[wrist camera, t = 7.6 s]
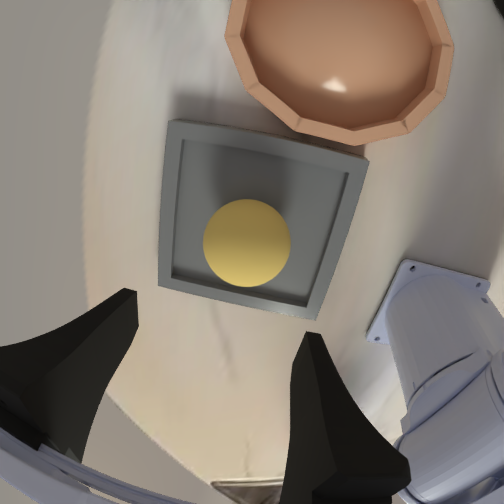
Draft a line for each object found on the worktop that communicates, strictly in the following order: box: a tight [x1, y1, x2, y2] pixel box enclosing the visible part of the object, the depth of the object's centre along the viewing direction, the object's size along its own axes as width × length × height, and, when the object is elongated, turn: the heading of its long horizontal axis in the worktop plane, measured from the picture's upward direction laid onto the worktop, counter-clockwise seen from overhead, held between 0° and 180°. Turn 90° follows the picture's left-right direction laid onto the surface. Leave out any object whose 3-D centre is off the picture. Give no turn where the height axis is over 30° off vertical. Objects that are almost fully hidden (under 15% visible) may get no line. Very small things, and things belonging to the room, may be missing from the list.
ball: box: [203, 199, 291, 287], centre depth 18 cm, size 5×5×5 cm
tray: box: [158, 119, 370, 320], centre depth 20 cm, size 12×12×1 cm
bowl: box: [224, 0, 454, 146], centre depth 14 cm, size 13×13×2 cm
